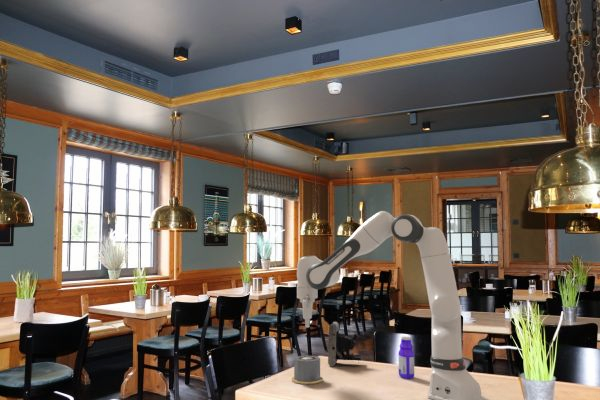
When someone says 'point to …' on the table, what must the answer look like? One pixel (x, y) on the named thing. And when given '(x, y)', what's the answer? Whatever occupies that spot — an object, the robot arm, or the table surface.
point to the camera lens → (307, 358)
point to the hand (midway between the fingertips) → (307, 327)
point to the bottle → (406, 358)
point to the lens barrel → (307, 371)
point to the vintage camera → (340, 345)
